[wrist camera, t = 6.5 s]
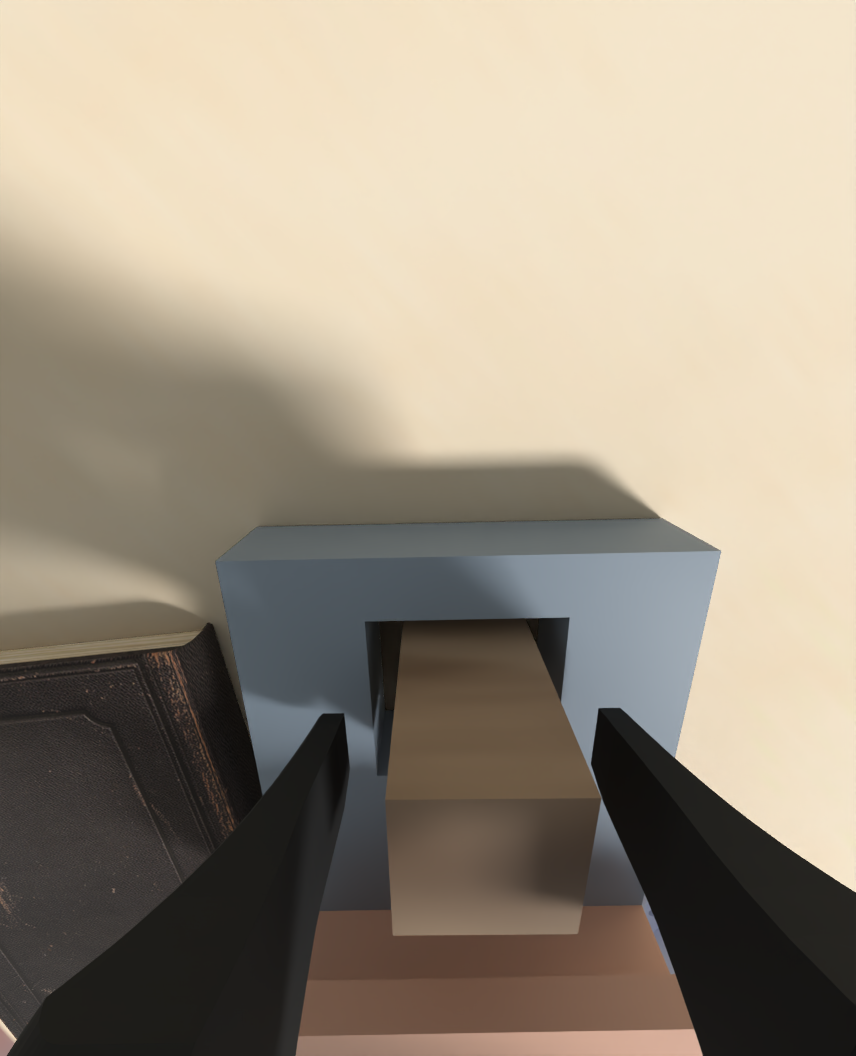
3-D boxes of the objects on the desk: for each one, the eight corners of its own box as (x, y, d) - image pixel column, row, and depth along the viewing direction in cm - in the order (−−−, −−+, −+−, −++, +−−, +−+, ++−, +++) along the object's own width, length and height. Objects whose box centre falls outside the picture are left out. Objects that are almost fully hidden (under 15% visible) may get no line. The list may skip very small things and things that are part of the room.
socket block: (607, 843, 19) (638, 921, 17) (309, 848, 19) (289, 927, 17) (662, 518, 14) (721, 551, 11) (257, 526, 14) (215, 561, 11)
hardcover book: (59, 989, 24) (23, 1049, 22) (-170, 656, 17) (-260, 696, 14) (331, 968, 23) (322, 1027, 21) (220, 614, 16) (188, 650, 14)
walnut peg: (508, 683, 17) (577, 934, 9) (408, 683, 16) (392, 935, 9) (514, 593, 15) (601, 798, 8) (405, 594, 15) (385, 799, 8)
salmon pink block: (638, 921, 17) (722, 1134, 12) (289, 927, 17) (235, 1142, 12) (660, 823, 15) (769, 1028, 10) (269, 830, 15) (196, 1038, 10)
